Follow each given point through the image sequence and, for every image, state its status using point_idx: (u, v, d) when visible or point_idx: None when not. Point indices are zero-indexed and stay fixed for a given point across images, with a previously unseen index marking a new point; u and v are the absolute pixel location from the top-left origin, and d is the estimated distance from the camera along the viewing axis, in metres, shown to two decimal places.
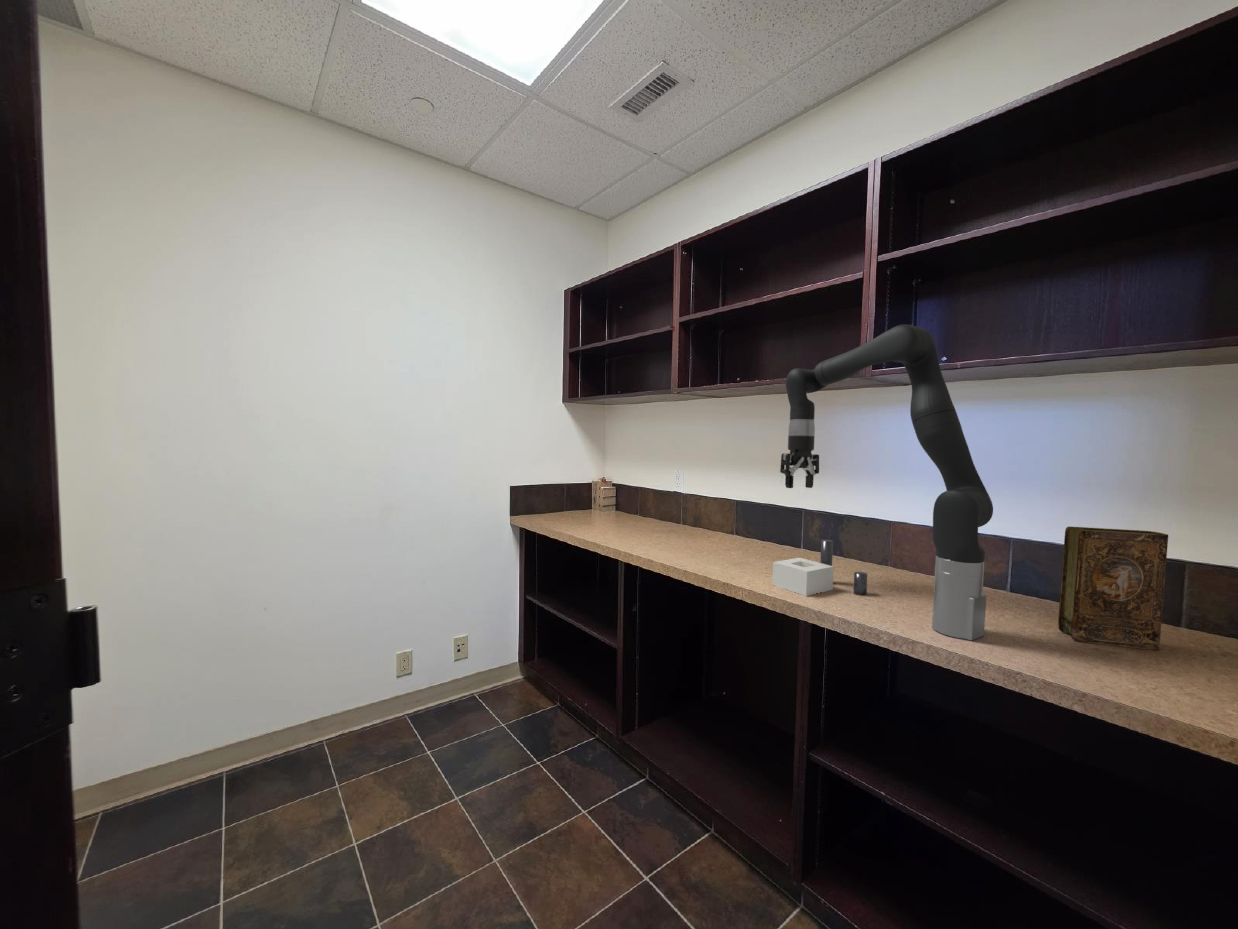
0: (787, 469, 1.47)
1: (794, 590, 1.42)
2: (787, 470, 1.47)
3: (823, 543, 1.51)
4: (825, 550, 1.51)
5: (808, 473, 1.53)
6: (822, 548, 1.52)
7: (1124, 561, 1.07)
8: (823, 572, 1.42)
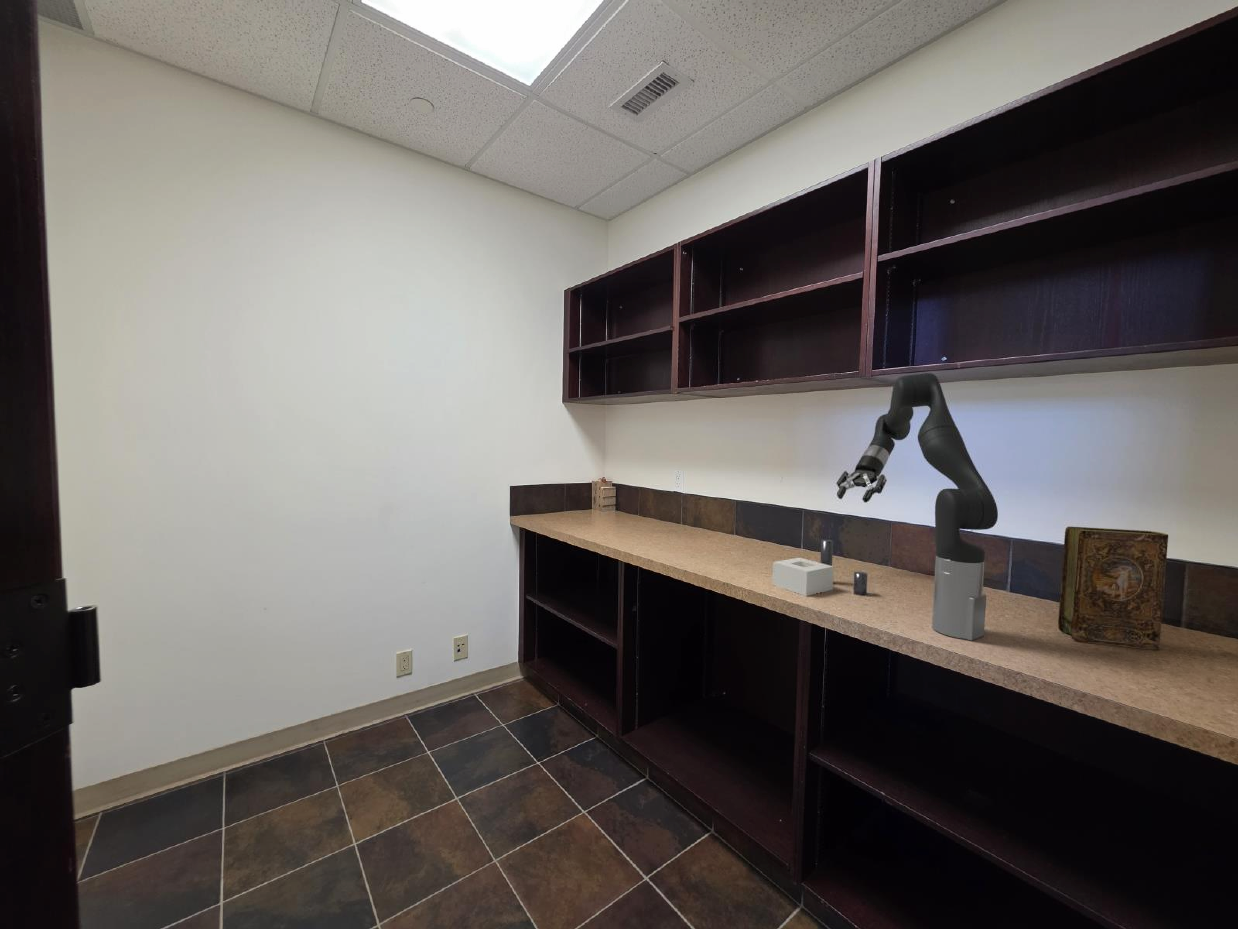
0: (838, 481, 1.65)
1: (794, 590, 1.42)
2: (837, 482, 1.65)
3: (823, 543, 1.51)
4: (825, 550, 1.51)
5: None
6: (822, 548, 1.52)
7: (1124, 561, 1.07)
8: (823, 572, 1.42)
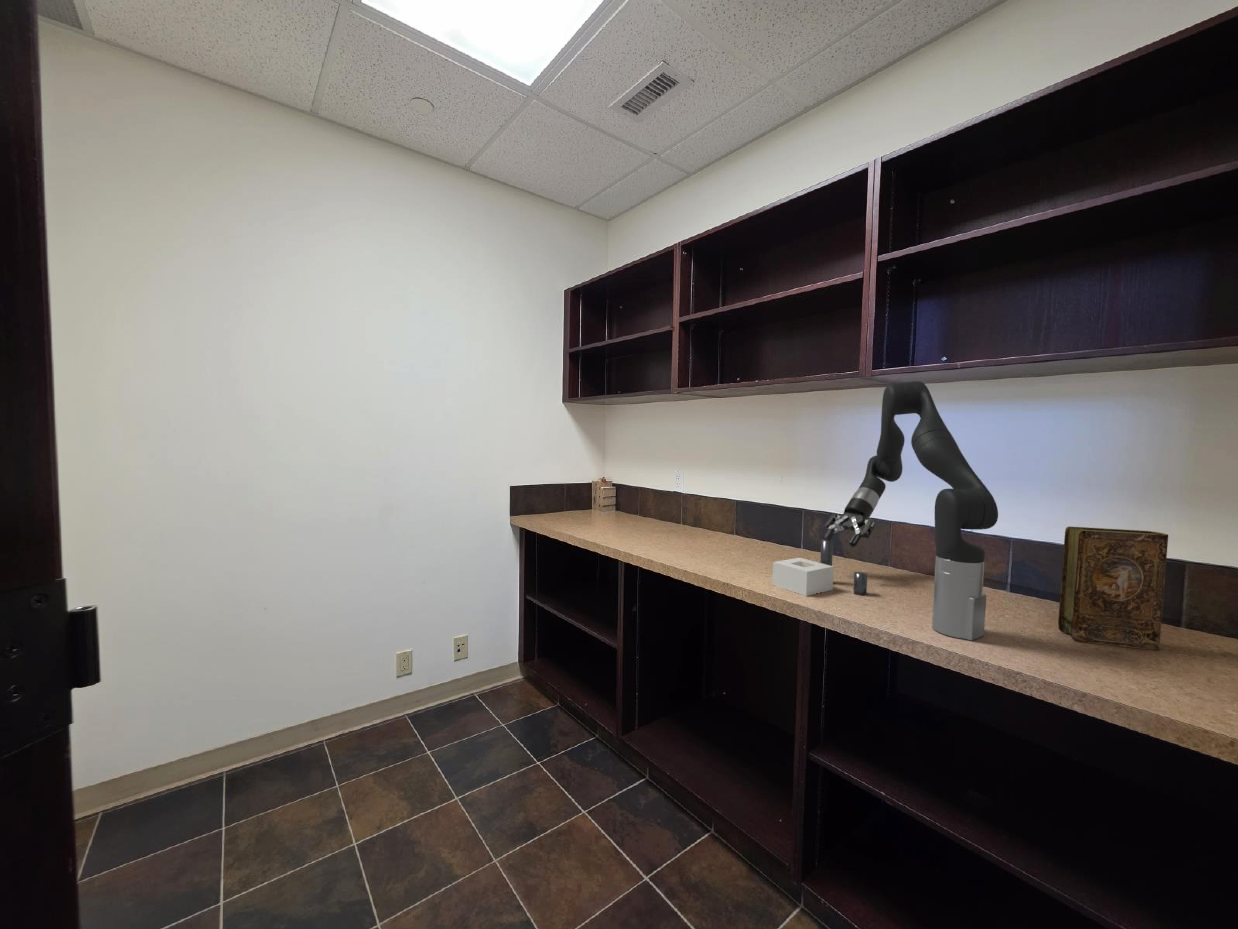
0: (826, 523, 1.62)
1: (794, 590, 1.42)
2: (826, 524, 1.62)
3: (823, 543, 1.51)
4: (825, 550, 1.51)
5: None
6: (822, 548, 1.52)
7: (1124, 561, 1.07)
8: (823, 572, 1.42)
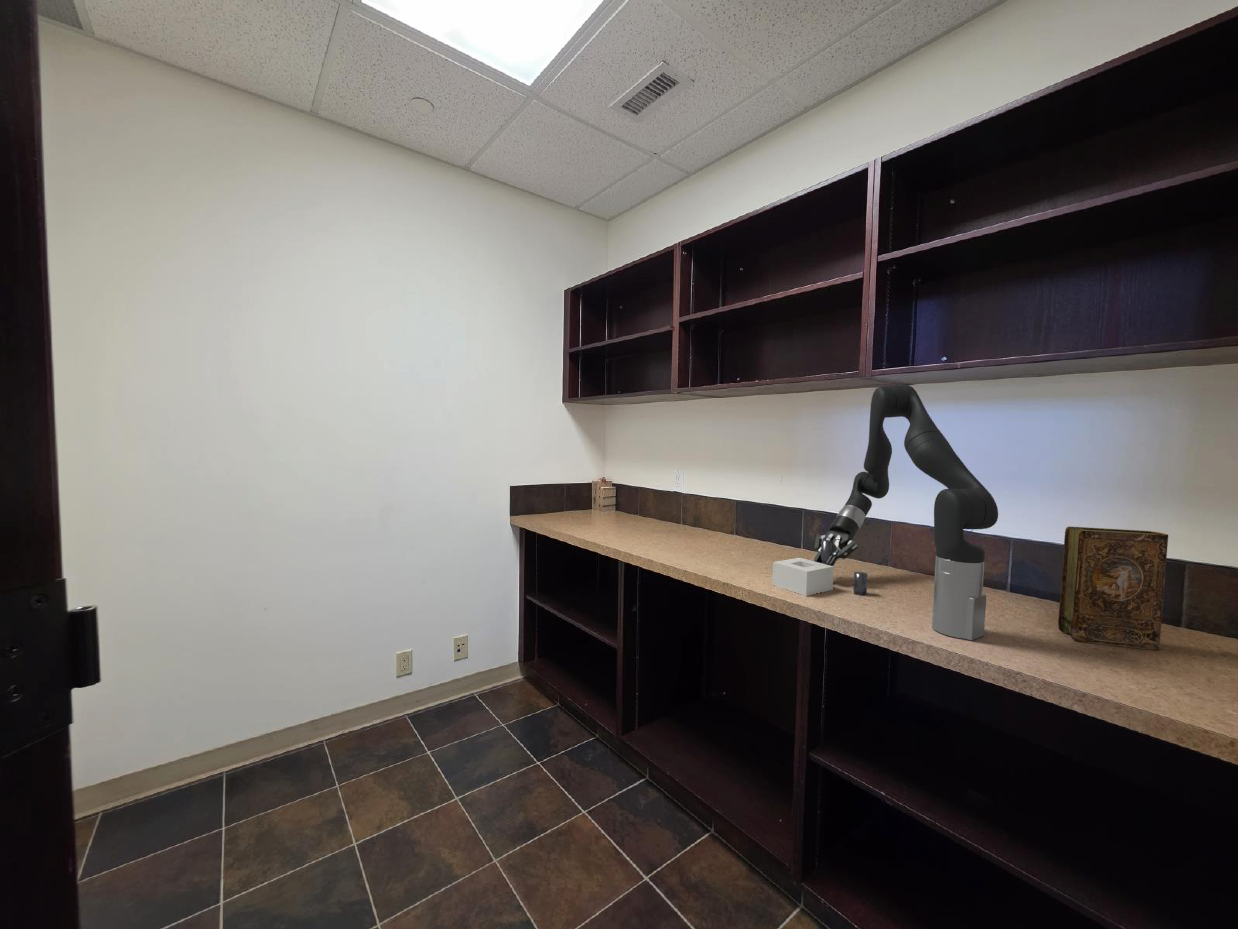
0: (816, 545, 1.56)
1: (794, 590, 1.42)
2: (815, 546, 1.56)
3: (823, 543, 1.51)
4: (825, 550, 1.51)
5: None
6: (822, 548, 1.52)
7: (1124, 561, 1.07)
8: (823, 572, 1.42)
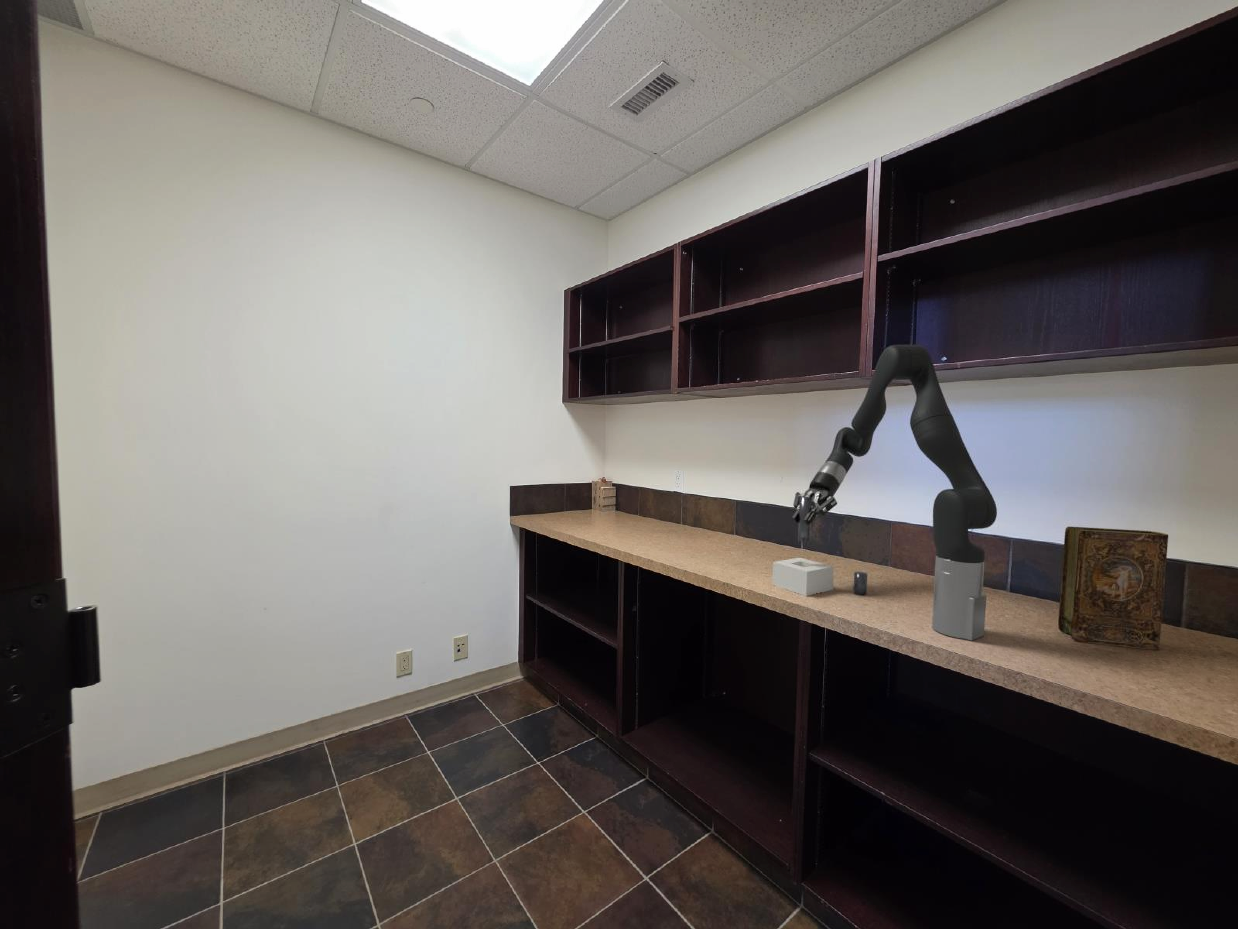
0: (795, 503, 1.50)
1: (794, 590, 1.42)
2: (794, 504, 1.50)
3: (801, 499, 1.45)
4: (803, 507, 1.44)
5: None
6: (800, 505, 1.45)
7: (1124, 561, 1.07)
8: (823, 572, 1.42)
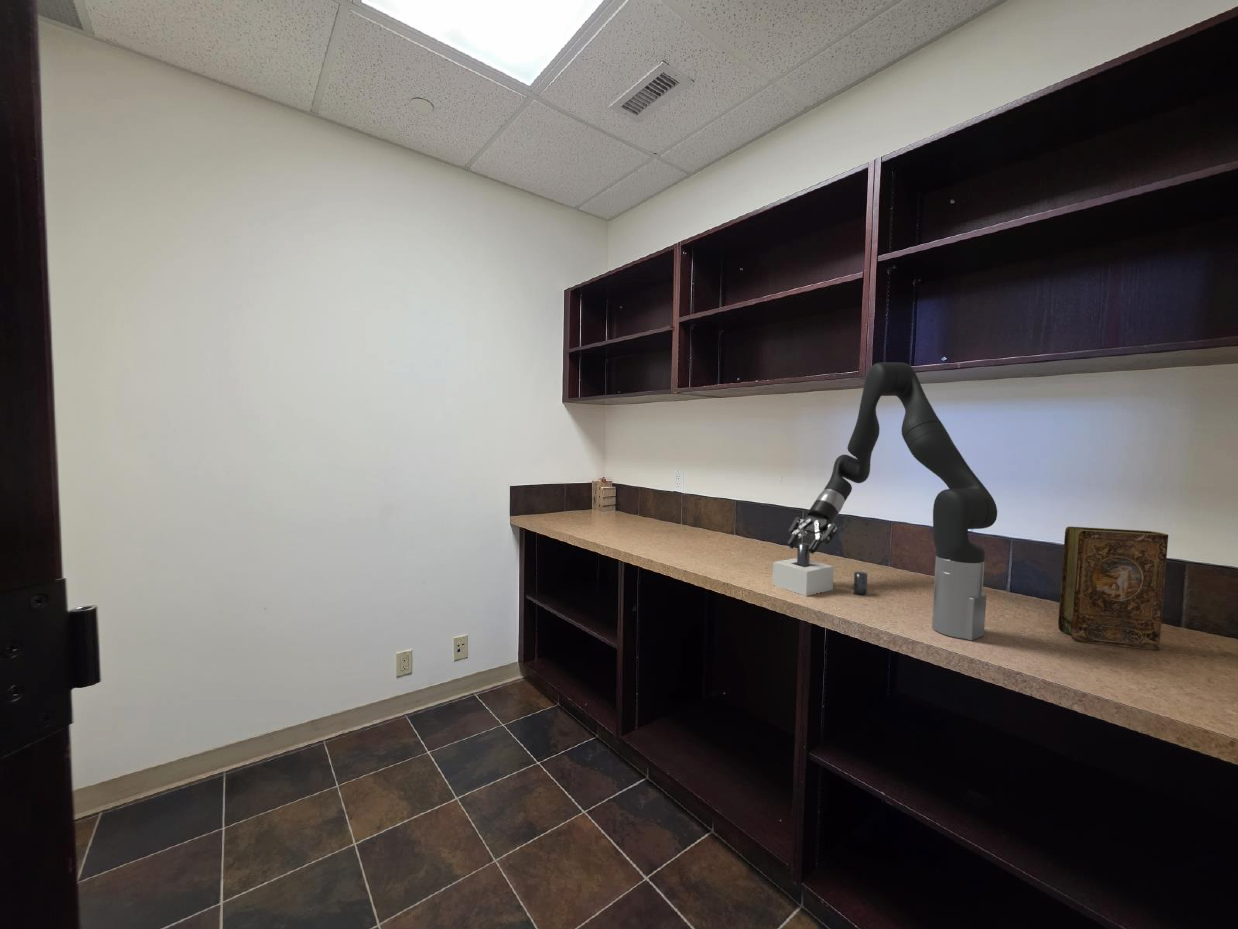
0: (790, 528, 1.52)
1: (794, 590, 1.42)
2: (790, 529, 1.52)
3: (799, 547, 1.45)
4: (801, 554, 1.45)
5: None
6: (798, 552, 1.46)
7: (1124, 561, 1.07)
8: (823, 572, 1.42)
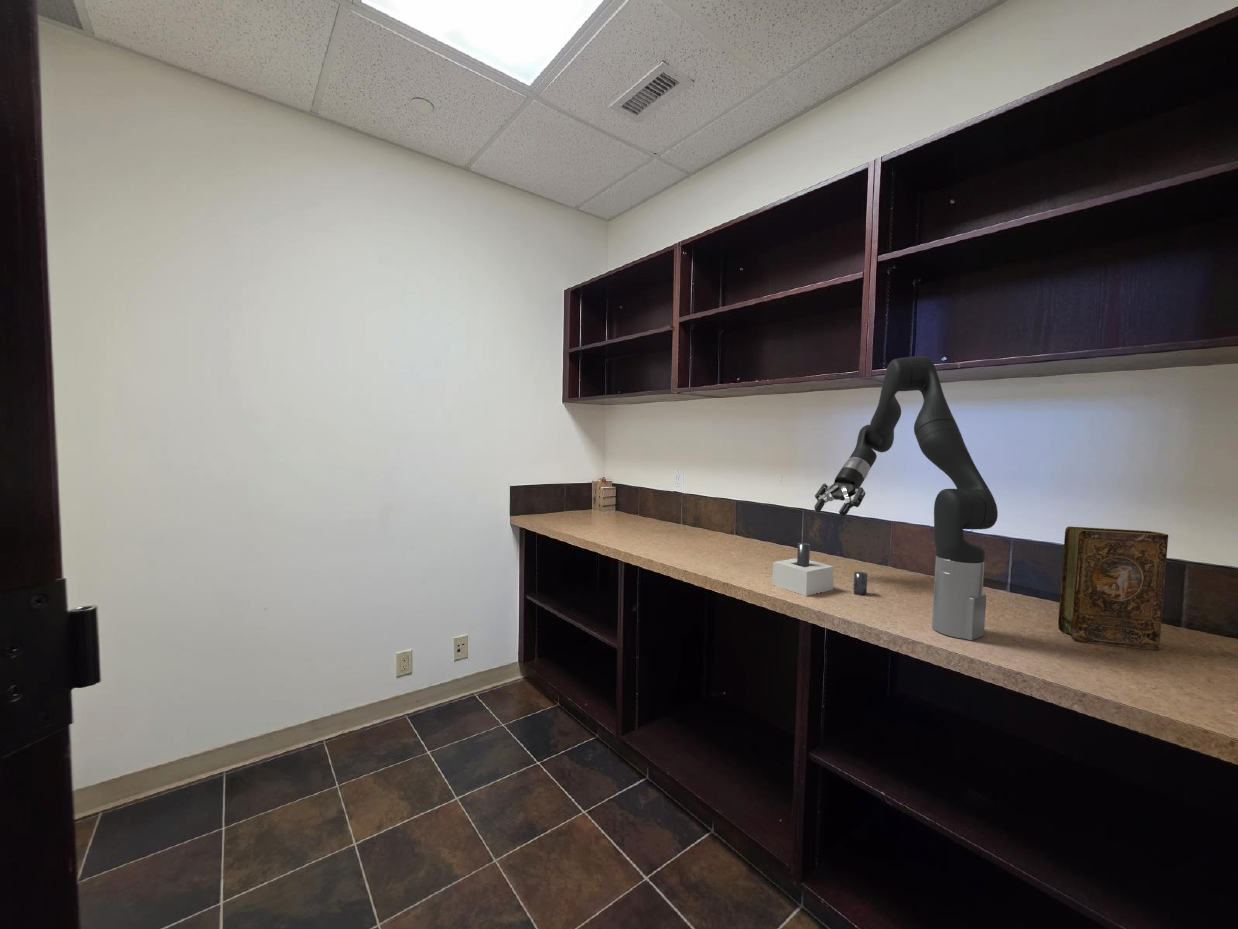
0: (816, 494, 1.59)
1: (794, 590, 1.42)
2: (816, 494, 1.59)
3: (799, 546, 1.46)
4: (801, 554, 1.45)
5: None
6: (798, 552, 1.46)
7: (1124, 561, 1.07)
8: (823, 572, 1.42)
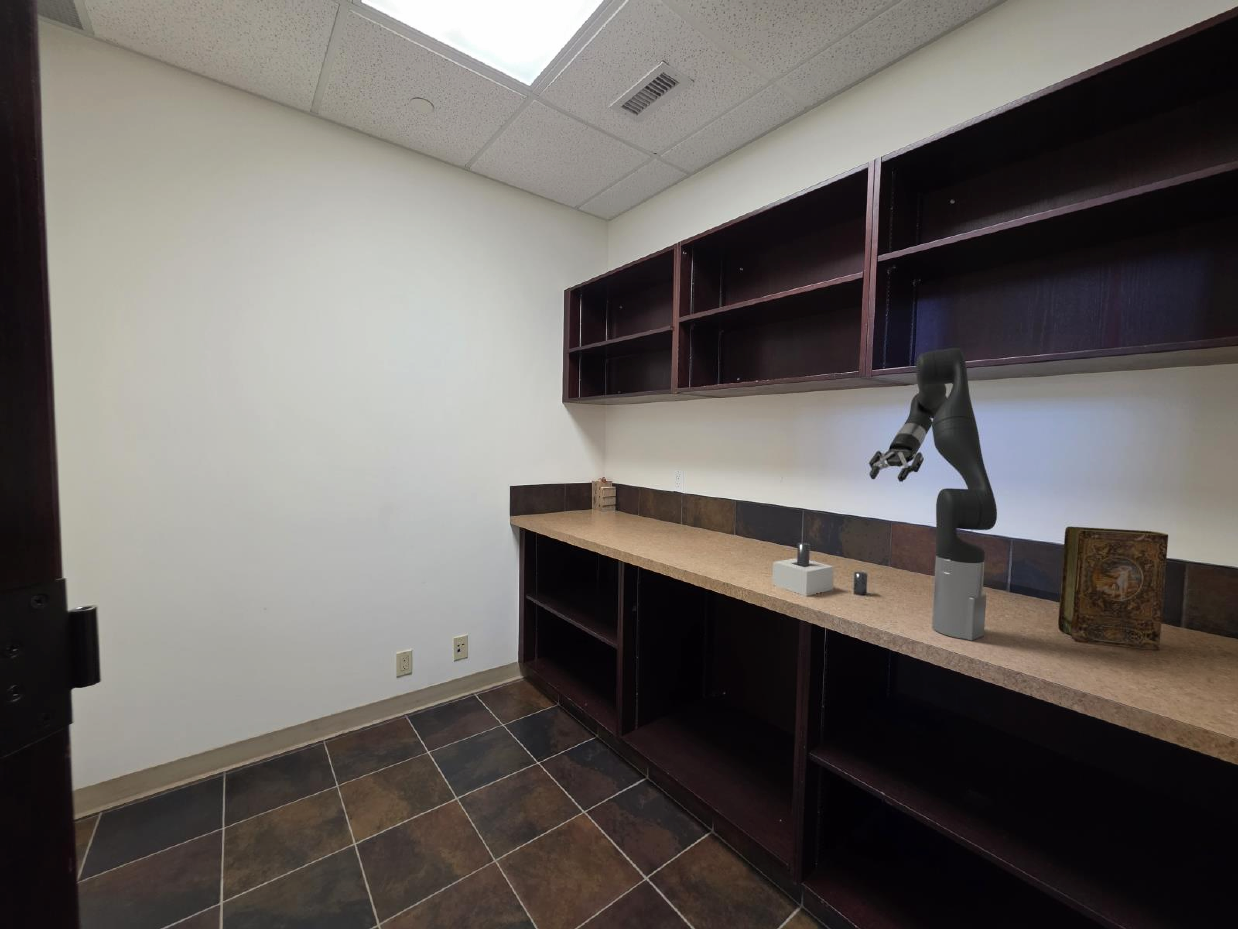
0: (871, 461, 1.56)
1: (794, 590, 1.42)
2: (870, 461, 1.56)
3: (799, 546, 1.46)
4: (801, 554, 1.45)
5: None
6: (798, 552, 1.46)
7: (1124, 561, 1.07)
8: (823, 572, 1.42)
